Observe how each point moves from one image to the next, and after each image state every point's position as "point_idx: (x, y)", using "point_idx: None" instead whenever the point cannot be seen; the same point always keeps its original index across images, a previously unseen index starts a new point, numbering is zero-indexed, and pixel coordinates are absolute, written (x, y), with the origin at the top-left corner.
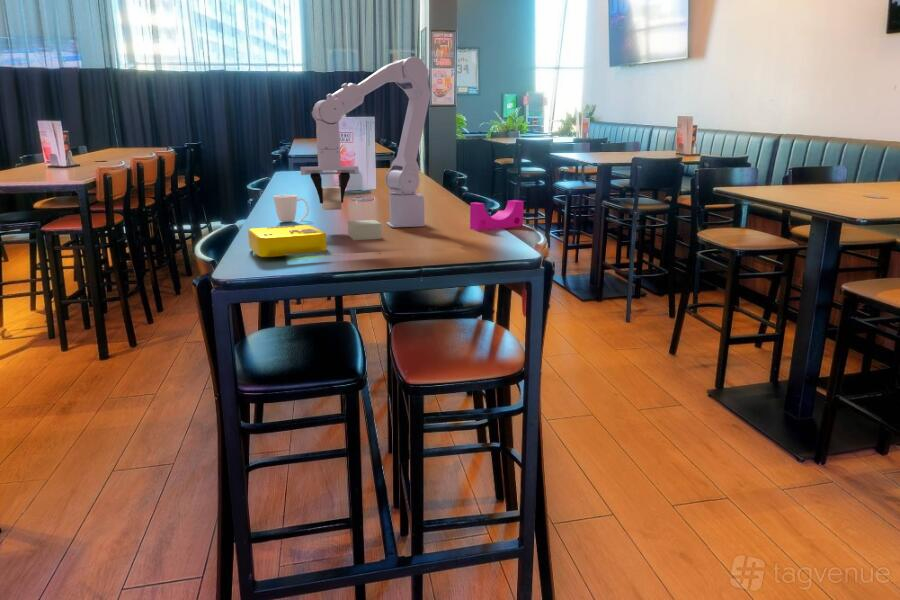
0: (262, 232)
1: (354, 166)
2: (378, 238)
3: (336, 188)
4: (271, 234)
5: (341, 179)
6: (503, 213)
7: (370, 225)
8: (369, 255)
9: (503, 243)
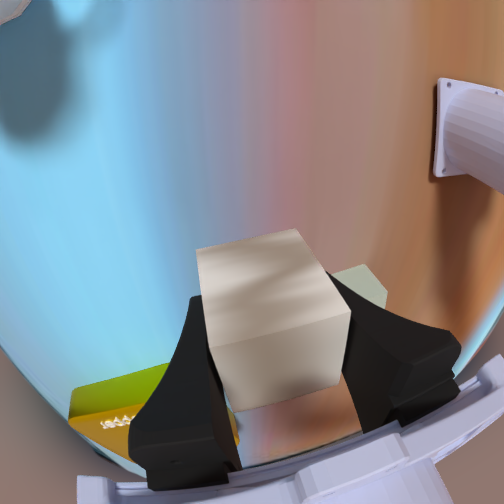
0: (120, 448)
1: (496, 417)
2: None
3: (315, 389)
4: None
5: (364, 423)
6: None
7: None
8: (298, 426)
9: (479, 329)
